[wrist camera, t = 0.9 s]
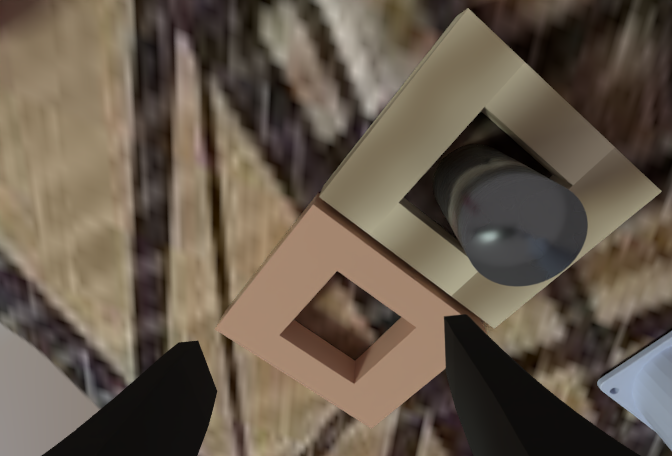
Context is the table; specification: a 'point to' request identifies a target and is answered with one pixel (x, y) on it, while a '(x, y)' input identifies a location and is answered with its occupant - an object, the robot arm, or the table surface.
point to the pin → (509, 216)
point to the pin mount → (440, 132)
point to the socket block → (318, 355)
